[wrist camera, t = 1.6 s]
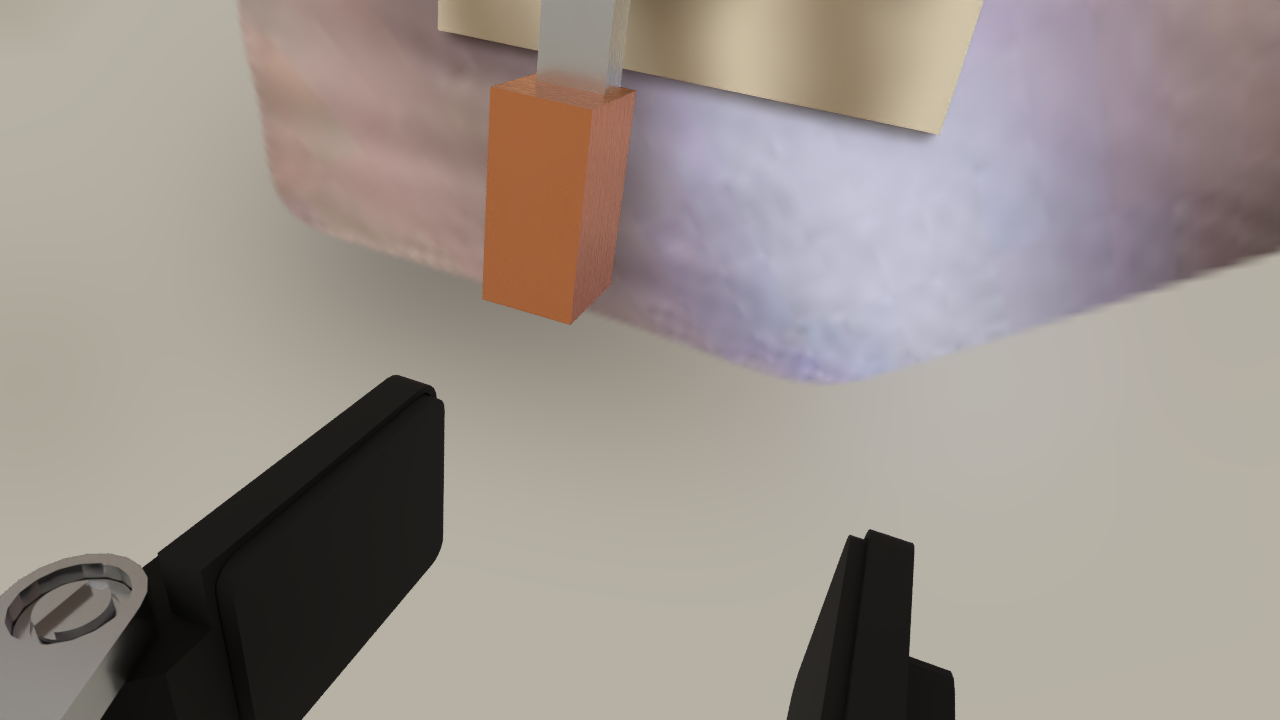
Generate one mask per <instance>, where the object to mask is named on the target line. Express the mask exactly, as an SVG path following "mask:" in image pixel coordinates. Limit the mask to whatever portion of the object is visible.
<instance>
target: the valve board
mask: <svg viewBox="0 0 1280 720" xmlns="http://www.w3.org/2000/svg"><path fill="white" fill-rule="evenodd" d="M541 1H542V0H438V30H441V31H446V32H451V33H456V34H460V35H465V36H470V37H475V38H480V39H484V40H489V41H494V42H499V43H503V44H508V45H513V46H518V47H523V48H527V49H532V50H537V51H538V46H539V31H540V16H541ZM983 2H984V0H631V3H630V11H629V19H628V28H627V36H626V45H625V53H624V61H623V69H628V70H632V71H637V72H642V73H647V74H651V75H656V76H661V77H666V78H671V79H675V80H680V81H685V82H690V83H694V84H699V85H704V86H709V87H714V88H718V89H723V90H728V91H733V92H737V93H742V94H747V95H752V96H756V97H761V98H766V99H771V100H776V101H780V102H785V103H790V104H795V105H799V106H804V107H809V108H814V109H819V110H823V111H828V112H833V113H838V114H842V115H847V116H852V117H857V118H861V119H866V120H871V121H876V122H881V123H885V124H890V125H895V126H900V127H904V128H909V129H914V130H919V131H924V132H928V133H933V134H938V135H940V132H941V129H942V126H943V123H944V120H945V117H946V114H947V111H948V108H949V105H950V102H951V99H952V96H953V93H954V90H955V87H956V84H957V81H958V78H959V75H960V72H961V69H962V66H963V62H964V59H965V56H966V53H967V50H968V47H969V44H970V41H971V38H972V35H973V32H974V29H975V26H976V23H977V20H978V17H979V14H980V11H981V8H982V5H983Z"/></svg>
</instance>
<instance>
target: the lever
mask: <svg viewBox="0 0 1280 720" xmlns="http://www.w3.org/2000/svg"><path fill="white" fill-rule="evenodd" d="M630 3H631V0H542V1H541V16H540V31H539V46H538V61H537V73H536V74H533V75H530V76H526V77H523V78H519V79H516V80H513V81H509V82H506V83H502V84H499V85H495V86H492V87H491V89H490V116H489V142H488V168H487V194H486V220H485V246H484V272H483V299H484V300H487V301H491V302H494V303H498V304H501V305H505V306H508V307H511V308H515V309H518V310H521V311H525V312H528V313H532V314H535V315H539V316H542V317H545V318H549V319H552V320H556V321H559V322H562V323H566V324H569V325H571V324H572V323H573V322H574V320H576V319H577V318H578V317H579V316H580V315H581V314H582V313H583V312H584V311H585V310H586V309H587V308H588V307H589V306H590V305H591V304H592V303H593V302H594V301H595V300H596V299H597V298H598V297H599V296H600V295H601V294H602V293H603V292H604V291H605V290H606V289H607V288H608V287H609V286H610V285H611V280H612V272H613V264H614V257H615V249H616V241H617V234H618V226H619V218H620V210H621V203H622V195H623V187H624V180H625V172H626V164H627V156H628V149H629V141H630V133H631V126H632V118H633V110H634V102H635V95H636V90H631V89H627V88H622V87H620V86H621V78H622V70H623V61H624V53H625V45H626V36H627V28H628V19H629V11H630Z"/></svg>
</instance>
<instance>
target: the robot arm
mask: <svg viewBox="0 0 1280 720" xmlns="http://www.w3.org/2000/svg"><path fill="white" fill-rule="evenodd" d="M444 414H445V410H444V404H443V402H442V400H440V399H437V397H436V392H435V390H434V388H433V387H432V386H430V385H427V384H424V383H421V382H418V381H415V380H412V379H409V378H406V377H402V376H399V375H393V376H391V377H389V378H387V379H386V380H384V381H383V382H382V383H380V384H379V385H378V386H377V387H375V388H374V389H373V390H371V391H370V392H369V393H367V394H366V395H365V396H364V397H362V398H361V399H360V400H358V401H357V402H356V403H354V404H353V405H352V406H350V407H349V408H348V409H346V410H345V411H344V412H342V413H341V414H340V415H338V416H337V417H336V418H334V419H333V420H332V421H331V422H329V423H328V424H327V425H325V426H324V427H323V428H321V429H320V430H319V431H317V432H316V433H315V434H313V435H312V436H311V437H310V438H308V439H307V440H306V441H304V442H303V443H302V444H300V445H299V446H298V447H297V448H295V449H294V450H292V451H291V452H290V453H288V454H287V455H286V456H285V457H283V458H282V459H281V460H279V461H278V462H277V463H275V464H274V465H273V466H271V467H270V468H269V469H267V470H266V471H265V472H263V473H262V474H261V475H260V476H258V477H257V478H256V479H254V480H253V481H252V482H250V483H249V484H248V485H246V486H245V487H244V488H242V489H241V490H240V491H239V492H237V493H236V494H235V495H233V496H232V497H231V498H229V499H228V500H227V501H225V502H224V503H223V504H221V505H220V506H219V507H217V508H216V509H215V510H214V511H212V512H211V513H210V514H208V515H207V516H206V517H205V518H203V519H202V520H200V521H199V522H198V523H196V524H195V525H194V526H193V527H191V528H190V529H189V530H187V531H186V532H185V533H184V534H182V535H181V536H179V537H178V538H177V539H175V540H174V541H173V542H172V543H171V544H169V545H168V546H166V547H165V548H164V549H162V550H161V551H160V552H159V553H158V556H157V557H156V558H155V559H153V560H152V561H151V562H149V563H148V564H147V565H145V566H144V567H143V568H141V566H140V565H139V564H137V563H135V562H134V561H132V560H131V559H129V558H127V557H122V556H118V555H114V554H85V555H80V556H75V557H71V558H65V559H62V560H59V561H57V562H54V563H51V564H48V565H46V566H43V567H41V568H39V569H37V570H35V571H33V572H32V573H30V574H28V575H27V576H25V577H23V578H21V579H20V580H18V581H17V582H16V583H15V584H13V585H12V586H11V587H10V588H9V589H8V590H7V591H5V592H4V593H3V594H2V595H1V596H0V720H302V718H303V717H304V716H305V715H306V714H307V713H308V711H309V710H310V709H311V708H312V706H314V704H315V703H316V702H317V701H318V699H319V698H320V697H321V696H322V695H323V694H324V692H325V691H326V690H327V689H328V688H329V686H330V685H331V684H332V683H333V682H334V681H335V679H336V678H337V677H338V676H339V675H340V673H341V672H342V671H343V670H344V669H345V667H346V666H347V665H348V664H349V663H350V662H351V660H352V659H353V658H354V657H355V656H356V654H357V653H358V652H359V651H360V650H361V648H362V647H363V646H364V645H365V644H366V642H367V641H368V640H369V639H370V638H371V636H372V635H373V634H374V633H375V632H376V631H377V629H378V628H379V627H380V626H381V625H382V623H383V622H384V621H385V620H386V619H387V617H388V616H389V615H390V614H391V613H392V612H393V610H394V609H395V608H396V607H397V606H398V604H399V603H400V602H401V601H402V600H403V598H404V597H405V596H406V595H407V594H408V593H409V591H410V590H411V589H412V588H413V587H414V585H415V584H416V583H417V582H418V581H419V579H420V578H421V577H422V576H423V575H424V573H425V572H426V571H427V570H428V569H429V568H430V566H431V565H432V564H433V562H434V561H435V560H436V558H437V556H438V554H439V552H440V549H441V546H442V542H443V495H444V494H443V493H444ZM913 569H914V544H913V543H911V542H907V541H904V540H901V539H898V538H895V537H892V536H889V535H886V534H883V533H880V532H877V531H874V530H871V529H870V530H868V532H867V534H866V536H865V538H864V539H861V538H858V537H855V536H852V535H849V536H848V538H847V541H846V543H845V546H844V549H843V552H842V554H841V557H840V560H839V563H838V565H837V568H836V571H835V573H834V576H833V579H832V582H831V584H830V587H829V590H828V593H827V595H826V598H825V601H824V604H823V606H822V609H821V612H820V615H819V618H818V620H817V623H816V626H815V629H814V631H813V634H812V637H811V639H810V642H809V645H808V648H807V650H806V653H805V656H804V659H803V661H802V664H801V667H800V670H799V672H798V676H797V679H796V682H795V686H794V689H793V693H792V697H791V702H790V706H789V711H788V716H787V720H955V688H954V678H953V675H952V673H951V671H948V670H945V669H943V668H940V667H937V666H935V665H932V664H929V663H926V662H923V661H920V660H918V659H915V658H912V657H909V647H910V626H911V607H912V587H913Z"/></svg>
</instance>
